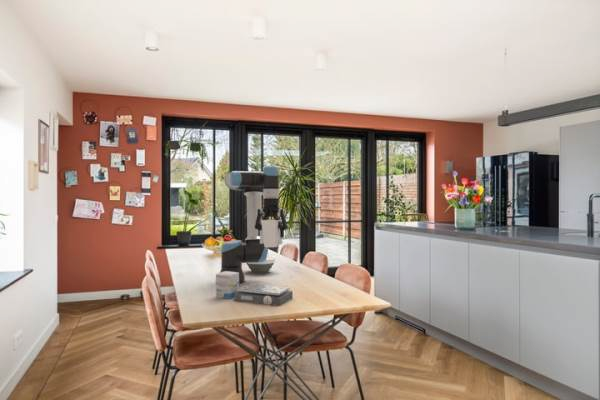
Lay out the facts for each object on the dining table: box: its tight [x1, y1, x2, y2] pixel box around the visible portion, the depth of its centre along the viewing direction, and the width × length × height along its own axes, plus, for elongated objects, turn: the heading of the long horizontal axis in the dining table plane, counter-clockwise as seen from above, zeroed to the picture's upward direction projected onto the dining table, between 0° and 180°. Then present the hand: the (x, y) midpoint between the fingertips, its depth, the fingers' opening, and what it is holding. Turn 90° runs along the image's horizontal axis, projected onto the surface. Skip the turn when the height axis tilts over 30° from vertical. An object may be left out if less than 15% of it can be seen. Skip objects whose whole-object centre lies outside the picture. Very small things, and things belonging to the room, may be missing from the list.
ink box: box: [215, 271, 240, 300], centre depth 207 cm, size 9×8×12 cm
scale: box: [233, 290, 294, 307], centre depth 201 cm, size 24×15×4 cm, turn 68°
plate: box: [237, 282, 291, 295], centre depth 201 cm, size 22×13×1 cm, turn 68°
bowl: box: [245, 255, 276, 275], centre depth 269 cm, size 20×20×10 cm
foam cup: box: [261, 219, 282, 248], centre depth 203 cm, size 10×9×13 cm
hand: (270, 243), depth 203 cm, fingers closed on foam cup, 9 cm apart
